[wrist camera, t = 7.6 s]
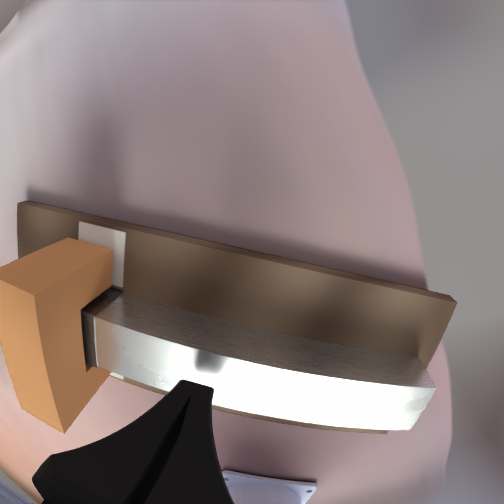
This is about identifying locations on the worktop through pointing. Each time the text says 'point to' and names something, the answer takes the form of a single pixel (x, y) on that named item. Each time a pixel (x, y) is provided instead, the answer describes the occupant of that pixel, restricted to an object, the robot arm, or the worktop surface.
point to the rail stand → (252, 326)
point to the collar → (52, 327)
